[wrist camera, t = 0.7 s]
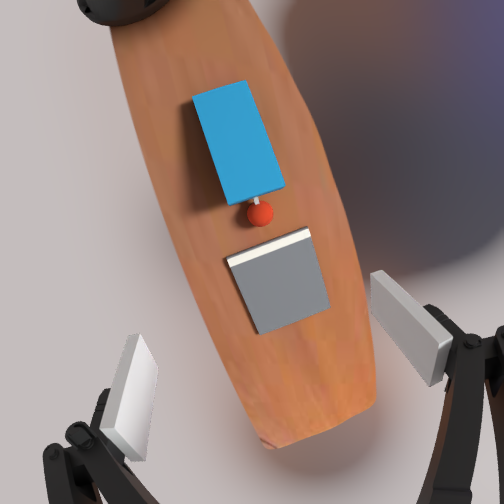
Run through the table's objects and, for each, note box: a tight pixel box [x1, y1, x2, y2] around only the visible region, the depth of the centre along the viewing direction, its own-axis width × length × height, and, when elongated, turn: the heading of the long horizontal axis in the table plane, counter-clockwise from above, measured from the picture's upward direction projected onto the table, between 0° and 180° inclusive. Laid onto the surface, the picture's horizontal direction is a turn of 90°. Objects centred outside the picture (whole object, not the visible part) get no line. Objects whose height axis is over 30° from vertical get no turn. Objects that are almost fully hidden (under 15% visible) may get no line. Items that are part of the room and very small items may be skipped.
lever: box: [192, 80, 285, 227], centre depth 37 cm, size 7×7×18 cm
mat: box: [226, 226, 331, 335], centre depth 44 cm, size 14×12×1 cm
